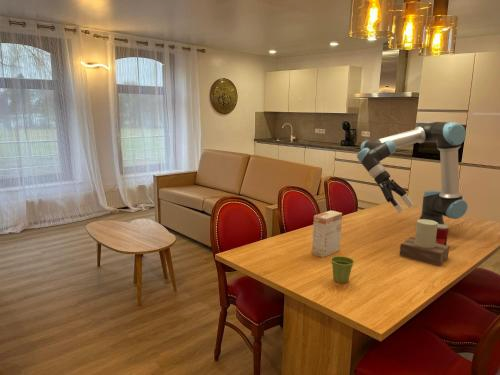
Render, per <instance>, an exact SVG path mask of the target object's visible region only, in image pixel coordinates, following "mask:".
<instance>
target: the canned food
mask: <svg viewBox="0 0 500 375" xmlns="http://www.w3.org/2000/svg"><path fill="white" fill-rule="evenodd" d="M448 235H449V226H448V225H447V224H445V223H444V224H438V226H437V233H436V242H435V243H438V244H443V245H447V241H448Z"/></svg>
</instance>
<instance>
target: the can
mask: <svg viewBox="0 0 500 375" xmlns="http://www.w3.org/2000/svg"><path fill="white" fill-rule="evenodd" d="M437 226H438V223H437V222H436V221H433V220H427V219H419V218H418V219H417V220H416V230H415V237H414V238H415V245H417V246H420V247H424V248H434V247H435V242H436V233H437Z"/></svg>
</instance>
